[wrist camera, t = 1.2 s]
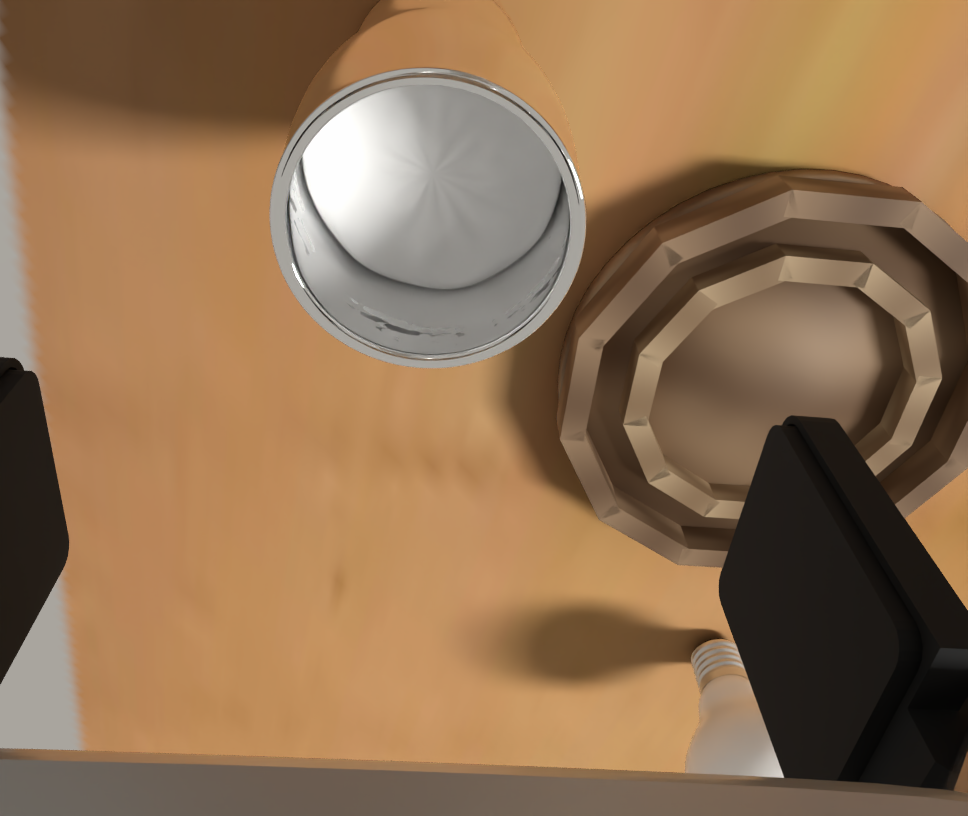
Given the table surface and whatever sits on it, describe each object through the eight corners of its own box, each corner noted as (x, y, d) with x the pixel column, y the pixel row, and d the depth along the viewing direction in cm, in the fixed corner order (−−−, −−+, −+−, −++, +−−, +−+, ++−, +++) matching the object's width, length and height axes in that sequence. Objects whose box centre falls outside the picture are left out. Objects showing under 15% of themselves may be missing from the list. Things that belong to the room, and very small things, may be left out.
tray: (597, 147, 32) (607, 168, 30) (1055, 192, 34) (1097, 216, 31) (531, 520, 42) (535, 558, 40) (889, 543, 43) (912, 580, 41)
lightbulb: (778, 672, 48) (854, 867, 39) (665, 696, 49) (714, 893, 40) (764, 593, 45) (845, 787, 36) (643, 620, 46) (692, 816, 37)
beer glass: (396, 200, 33) (360, 420, 20) (301, 19, 29) (189, 150, 17) (567, 123, 32) (642, 307, 19) (489, -77, 28) (518, -12, 16)
